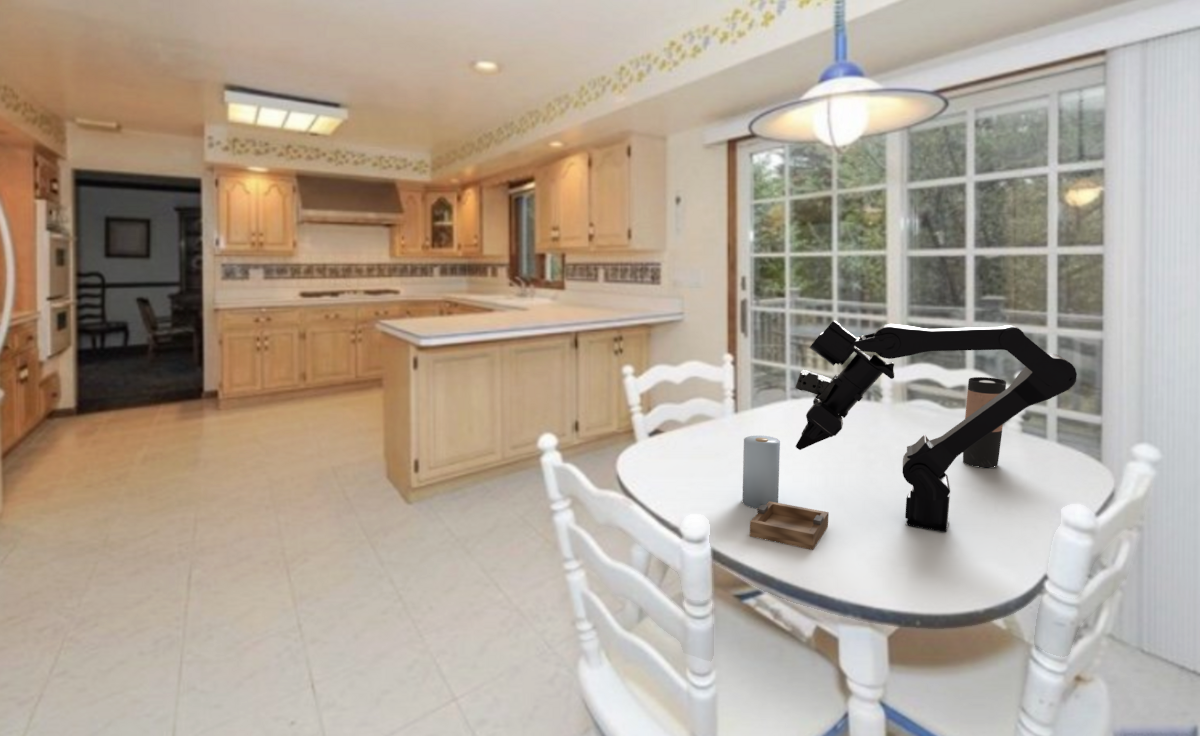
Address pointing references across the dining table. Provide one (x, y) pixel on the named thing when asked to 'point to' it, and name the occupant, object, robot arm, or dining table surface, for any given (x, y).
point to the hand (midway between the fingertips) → (800, 441)
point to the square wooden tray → (789, 524)
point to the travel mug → (989, 446)
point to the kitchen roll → (760, 470)
